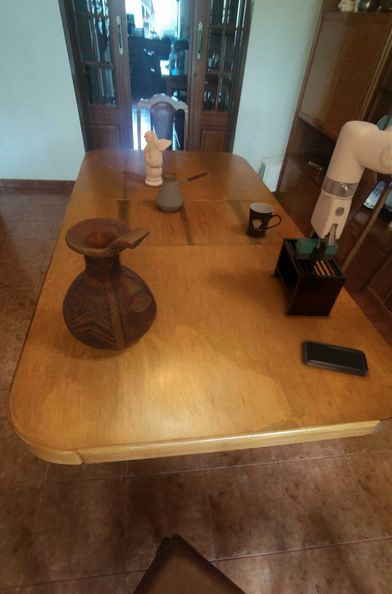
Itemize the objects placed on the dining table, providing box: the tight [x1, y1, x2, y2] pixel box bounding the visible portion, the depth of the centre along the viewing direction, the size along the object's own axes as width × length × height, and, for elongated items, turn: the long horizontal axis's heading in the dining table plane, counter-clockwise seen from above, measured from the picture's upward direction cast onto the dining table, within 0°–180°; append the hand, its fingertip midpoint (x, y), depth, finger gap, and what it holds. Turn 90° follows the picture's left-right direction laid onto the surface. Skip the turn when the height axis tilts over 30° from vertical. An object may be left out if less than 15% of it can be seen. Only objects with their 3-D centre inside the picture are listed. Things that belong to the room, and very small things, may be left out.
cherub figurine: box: [143, 130, 172, 187], centre depth 143 cm, size 12×12×22 cm
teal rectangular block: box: [295, 237, 339, 261], centre depth 86 cm, size 10×4×4 cm, turn 92°
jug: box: [61, 217, 158, 351], centre depth 70 cm, size 22×22×30 cm
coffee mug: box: [247, 202, 282, 239], centre depth 118 cm, size 12×9×10 cm
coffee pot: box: [155, 171, 210, 213], centre depth 128 cm, size 21×12×15 cm, turn 87°
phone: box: [302, 339, 369, 377], centre depth 78 cm, size 8×1×15 cm
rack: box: [272, 237, 348, 317], centre depth 92 cm, size 12×20×13 cm, turn 2°
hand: (313, 255), depth 87 cm, fingers closed on teal rectangular block, 3 cm apart
